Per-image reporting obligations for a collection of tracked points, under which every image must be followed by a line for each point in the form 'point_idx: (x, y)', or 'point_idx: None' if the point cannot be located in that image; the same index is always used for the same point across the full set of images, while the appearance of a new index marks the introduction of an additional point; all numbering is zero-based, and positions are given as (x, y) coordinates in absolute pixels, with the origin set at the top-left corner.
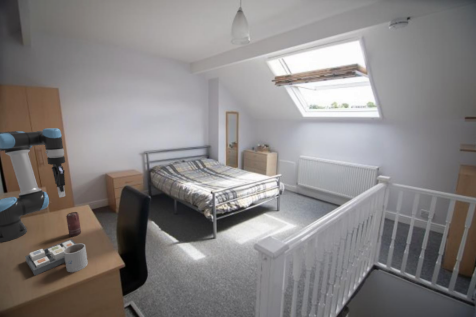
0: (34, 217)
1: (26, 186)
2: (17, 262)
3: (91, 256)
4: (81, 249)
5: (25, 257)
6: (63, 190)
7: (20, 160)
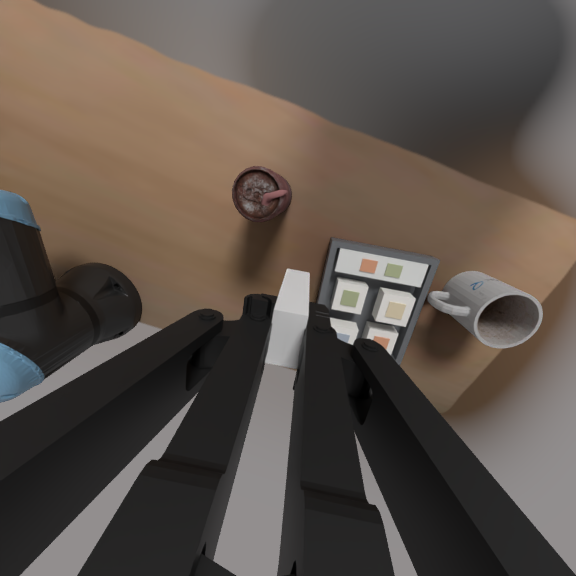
0: None
1: None
2: None
3: (467, 250)
4: (539, 314)
5: None
6: (327, 313)
7: None
